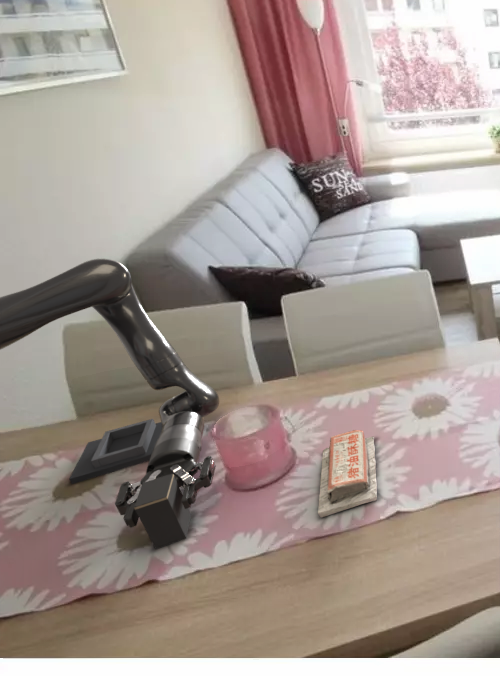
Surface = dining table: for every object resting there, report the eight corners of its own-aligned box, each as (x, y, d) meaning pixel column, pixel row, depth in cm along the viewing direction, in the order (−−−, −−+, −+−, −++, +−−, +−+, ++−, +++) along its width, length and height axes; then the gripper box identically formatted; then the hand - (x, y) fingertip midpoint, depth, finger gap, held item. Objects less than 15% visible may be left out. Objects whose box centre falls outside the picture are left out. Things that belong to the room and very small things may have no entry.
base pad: (72, 484, 106) (64, 471, 105) (90, 447, 116) (84, 435, 115) (169, 455, 113) (164, 442, 112) (179, 422, 123) (174, 410, 121)
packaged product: (318, 436, 110) (370, 422, 113) (324, 454, 111) (374, 440, 115) (312, 500, 94) (373, 481, 98) (319, 520, 96) (378, 501, 100)
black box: (155, 550, 92) (133, 507, 88) (162, 524, 97) (142, 482, 93) (186, 539, 93) (166, 496, 90) (192, 514, 98) (173, 473, 95)
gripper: (122, 451, 100) (96, 515, 86) (213, 425, 106) (202, 480, 92) (137, 481, 103) (114, 548, 89) (225, 454, 109) (215, 512, 95)
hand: (159, 513), depth 91 cm, fingers open, 7 cm apart
